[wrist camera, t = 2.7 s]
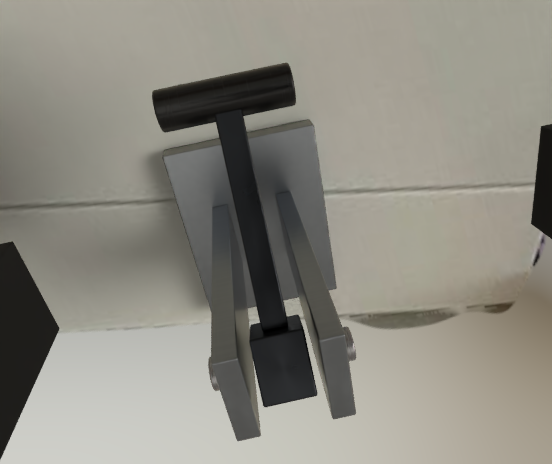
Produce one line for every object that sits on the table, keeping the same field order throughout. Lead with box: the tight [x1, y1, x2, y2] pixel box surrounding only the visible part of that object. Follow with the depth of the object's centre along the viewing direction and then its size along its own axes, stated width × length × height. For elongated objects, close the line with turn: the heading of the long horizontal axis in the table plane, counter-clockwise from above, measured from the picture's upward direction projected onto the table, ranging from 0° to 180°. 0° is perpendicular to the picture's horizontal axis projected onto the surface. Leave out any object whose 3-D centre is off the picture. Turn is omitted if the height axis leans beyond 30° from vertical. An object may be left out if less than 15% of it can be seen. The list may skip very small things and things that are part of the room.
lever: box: [152, 63, 317, 407], centre depth 19 cm, size 13×6×2 cm, turn 10°
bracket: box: [163, 120, 356, 441], centre depth 24 cm, size 12×9×15 cm
